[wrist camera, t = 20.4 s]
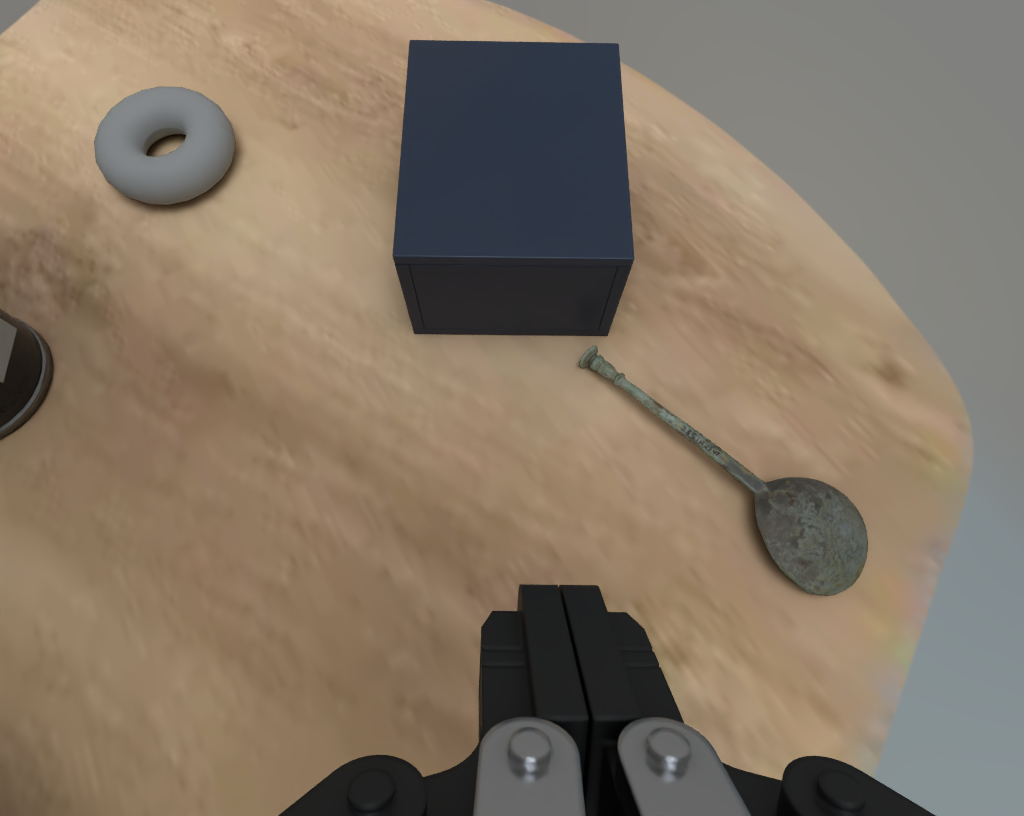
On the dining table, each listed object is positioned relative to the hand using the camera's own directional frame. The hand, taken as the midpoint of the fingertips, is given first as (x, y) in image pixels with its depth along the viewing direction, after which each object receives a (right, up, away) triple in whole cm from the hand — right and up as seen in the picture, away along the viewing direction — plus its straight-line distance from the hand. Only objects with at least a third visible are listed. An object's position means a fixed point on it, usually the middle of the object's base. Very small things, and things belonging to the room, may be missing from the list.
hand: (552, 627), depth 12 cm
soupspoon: (+12, +1, +30) cm, 32 cm away
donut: (-27, +23, +38) cm, 52 cm away
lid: (-1, +20, +27) cm, 34 cm away
